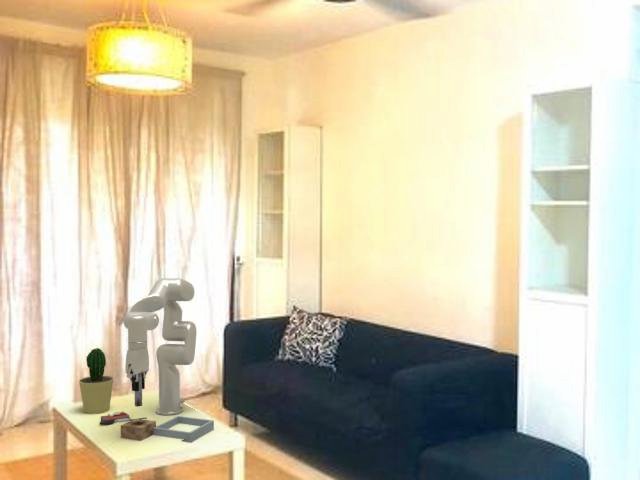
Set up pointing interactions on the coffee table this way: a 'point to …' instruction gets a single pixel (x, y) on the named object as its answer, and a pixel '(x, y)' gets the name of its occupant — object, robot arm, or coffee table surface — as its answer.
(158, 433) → the tray
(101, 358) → the potted cactus
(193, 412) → the coffee table surface
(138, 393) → the pin
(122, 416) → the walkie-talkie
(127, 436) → the holder block
